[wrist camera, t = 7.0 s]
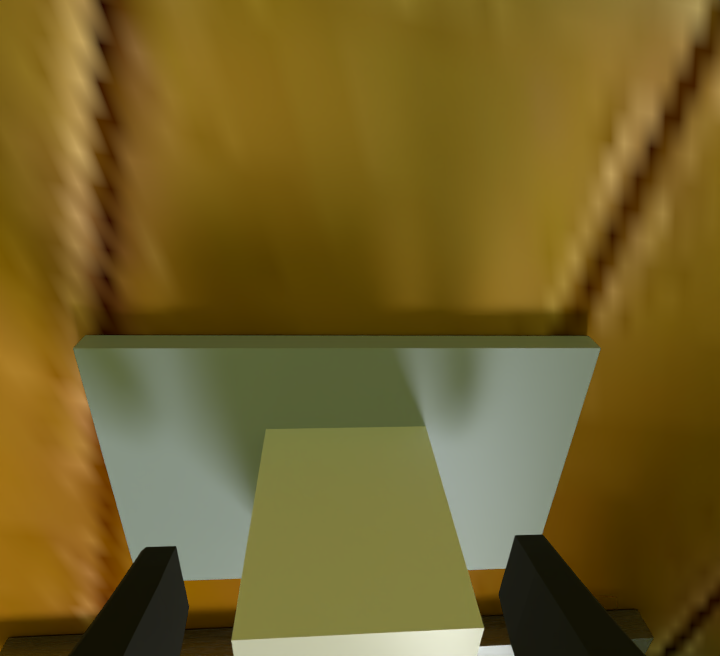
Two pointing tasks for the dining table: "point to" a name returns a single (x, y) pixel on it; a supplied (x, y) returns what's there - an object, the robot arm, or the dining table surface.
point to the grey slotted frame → (214, 647)
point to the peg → (353, 550)
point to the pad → (328, 426)
